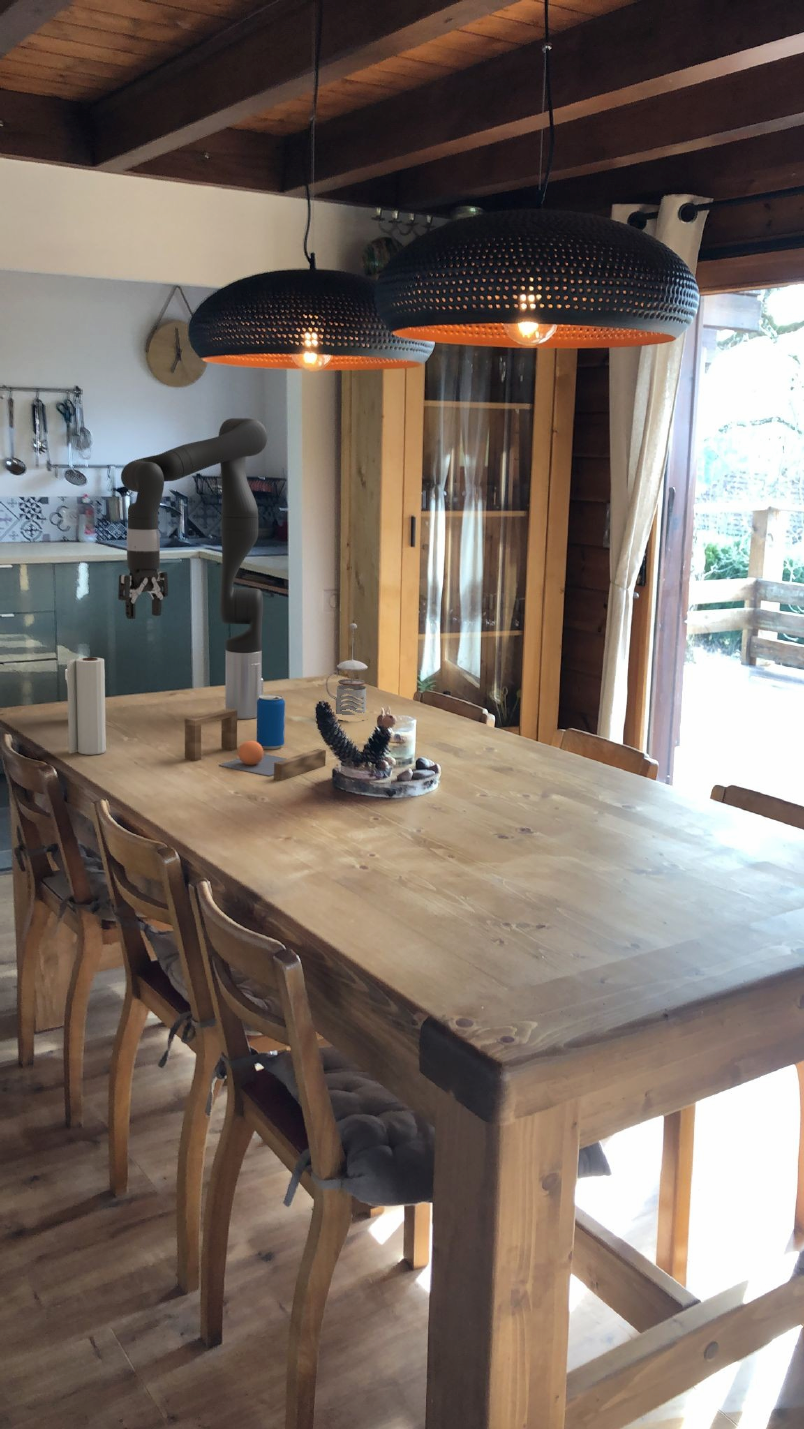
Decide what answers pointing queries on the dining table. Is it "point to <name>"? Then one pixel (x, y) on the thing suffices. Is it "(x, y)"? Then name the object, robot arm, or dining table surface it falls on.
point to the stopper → (299, 764)
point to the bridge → (194, 723)
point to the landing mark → (261, 768)
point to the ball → (250, 752)
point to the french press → (352, 684)
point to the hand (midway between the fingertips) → (143, 617)
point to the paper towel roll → (86, 705)
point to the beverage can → (270, 721)
